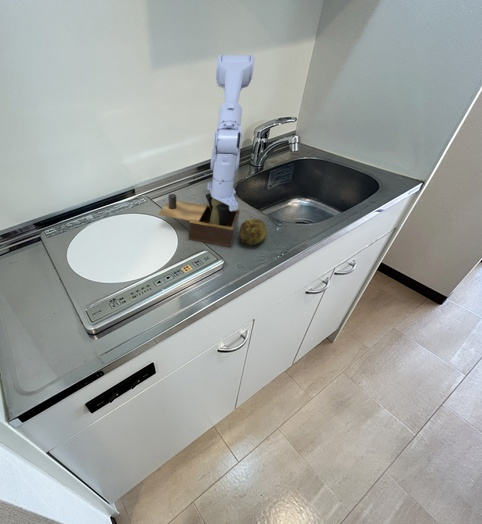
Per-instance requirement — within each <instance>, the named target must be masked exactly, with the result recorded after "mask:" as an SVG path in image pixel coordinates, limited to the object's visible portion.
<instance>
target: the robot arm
mask: <svg viewBox="0 0 482 524" xmlns="http://www.w3.org/2000/svg"><path fill="white" fill-rule="evenodd" d="M254 66H255V56H254V54H253V53H251V54H221V53H220V54H218V56H217V60H216V70H215V80H216V84H217V87H219V88H221V89H223V92H224V102H223V103H222V104H221V105H220V107H219V110H218V116H217V117H218V119H217V127H216V130H215V132H214V135H213V145H212V146H213V147H212V150H211V157H210V170H211V172H212V182H207V183H206V184H207V185H206V190H208V191H209V193H206V194H205V198H206V200H207V203H208V205H209V207H210V212H211V213H212V209H213V206H212V203H211V202H212V198H214V199H216V200H218V201H220V202H223V204H220V205H216V207H217V209H218V213H219V225H221V226H226V225H227V223H228V221H229V219H230V217H231V215H232V213H233V212H234V211H235V210H237V209H238V207H239V203H238V202H237V200H236V198H235V195H236V194H237V193H236V192H237V191H236V190H235V188H234V185H235V184H234V183H235V176H236V172H238V171H239V168H240V167H239V166H240V157H241V146H242V138H243V133H242V114H243V108H242V106H241V105H240V103H239V99H240V94H241V92H242V90H243V89H244V88H247V87H249V85H250V84H251V81H252V79H253V75H254V74H253V73H254Z"/></svg>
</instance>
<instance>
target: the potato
mask: <svg viewBox="0 0 482 524" xmlns="http://www.w3.org/2000/svg"><path fill="white" fill-rule="evenodd" d="M267 235H268V229H267V226H266V224H265V222H264V221H263V220H261V219H259V218H252V219H246V220H245V221H243V222H242V223H241V225H240V227H239V237H240V241H241V243H242V244H246V245H249V246H253V245H254V246H255V245H257V244H261V243H263V242H264V241H265V240H266V239H267Z"/></svg>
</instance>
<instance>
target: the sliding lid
mask: <svg viewBox="0 0 482 524" xmlns="http://www.w3.org/2000/svg"><path fill="white" fill-rule="evenodd" d="M167 197H168V201H167V202H166V204H165V205H164V206H163V207H162V208H161V210H159V212H158V216H161V217H166V218H172V219H178V220H185V221H189V222H190V220H192V221H198V222H199V221H200V219H201V217H202V216H203V214H204V212H205V210H206V208H207V205H208V204H207V205H200V204H201V203H193V202H186V201H181V200H180V201H179V200H177V194H175V193H170V194H168V196H167Z"/></svg>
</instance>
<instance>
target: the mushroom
mask: <svg viewBox="0 0 482 524" xmlns="http://www.w3.org/2000/svg"><path fill="white" fill-rule="evenodd" d="M211 203H212V206H213V209H212V213H211V217H210V222H209V224H215V225H219V213H218V209H217V207H216V205H220V204H223V202H220V201H218V200H216V199H214V198H212V202H211ZM226 227H228V223H227V225H226Z"/></svg>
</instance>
